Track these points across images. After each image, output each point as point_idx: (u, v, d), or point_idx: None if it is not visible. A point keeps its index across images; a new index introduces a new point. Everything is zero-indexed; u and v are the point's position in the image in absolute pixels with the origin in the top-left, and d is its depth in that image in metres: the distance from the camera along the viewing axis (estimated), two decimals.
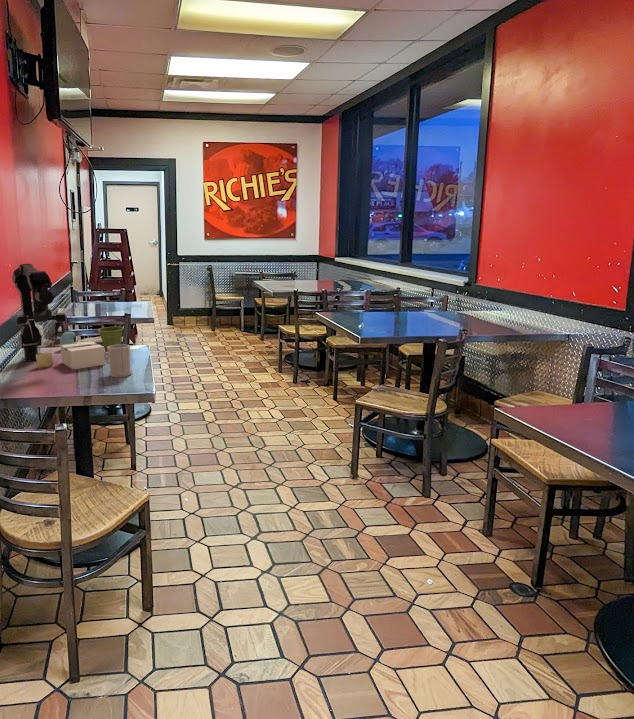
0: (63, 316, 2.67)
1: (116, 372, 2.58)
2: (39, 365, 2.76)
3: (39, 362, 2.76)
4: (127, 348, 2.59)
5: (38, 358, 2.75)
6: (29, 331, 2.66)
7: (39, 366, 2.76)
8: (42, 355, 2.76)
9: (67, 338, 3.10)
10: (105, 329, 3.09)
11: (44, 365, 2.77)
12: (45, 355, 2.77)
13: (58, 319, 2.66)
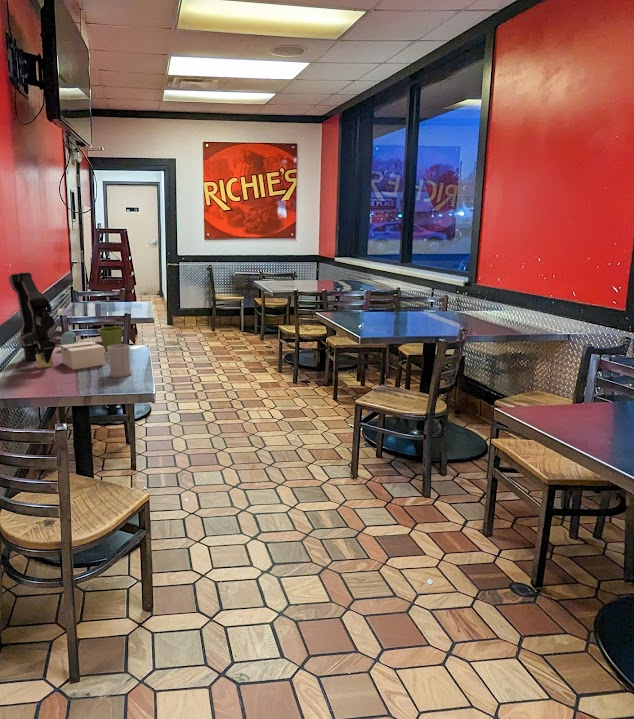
0: (40, 343, 2.67)
1: (116, 372, 2.58)
2: (39, 365, 2.76)
3: (39, 362, 2.76)
4: (127, 348, 2.59)
5: (38, 358, 2.75)
6: (37, 351, 2.80)
7: (39, 366, 2.76)
8: (42, 355, 2.76)
9: (67, 338, 3.10)
10: (105, 329, 3.09)
11: (44, 365, 2.77)
12: None
13: (38, 345, 2.69)
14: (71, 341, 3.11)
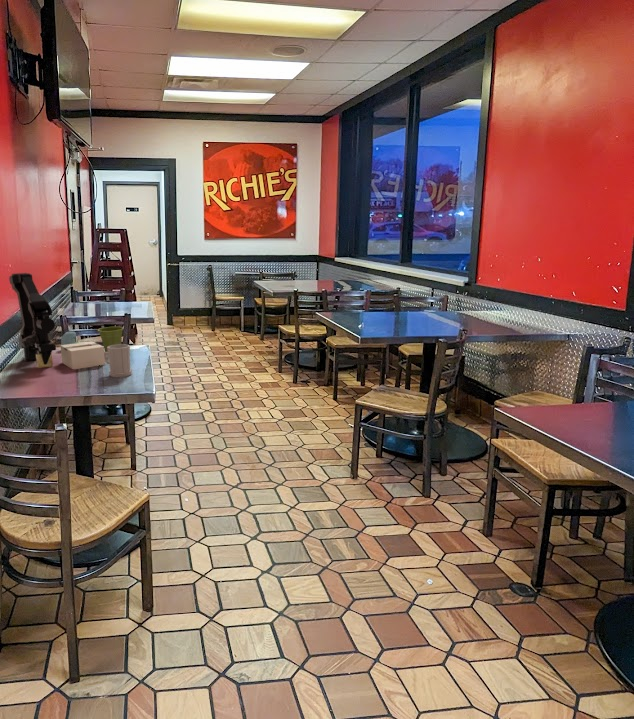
0: (40, 346, 2.68)
1: (116, 372, 2.58)
2: (39, 365, 2.76)
3: (39, 362, 2.76)
4: (127, 348, 2.59)
5: (38, 358, 2.75)
6: None
7: (39, 366, 2.76)
8: None
9: (68, 338, 3.10)
10: (105, 329, 3.09)
11: (44, 365, 2.77)
12: None
13: (39, 348, 2.69)
14: (72, 341, 3.11)
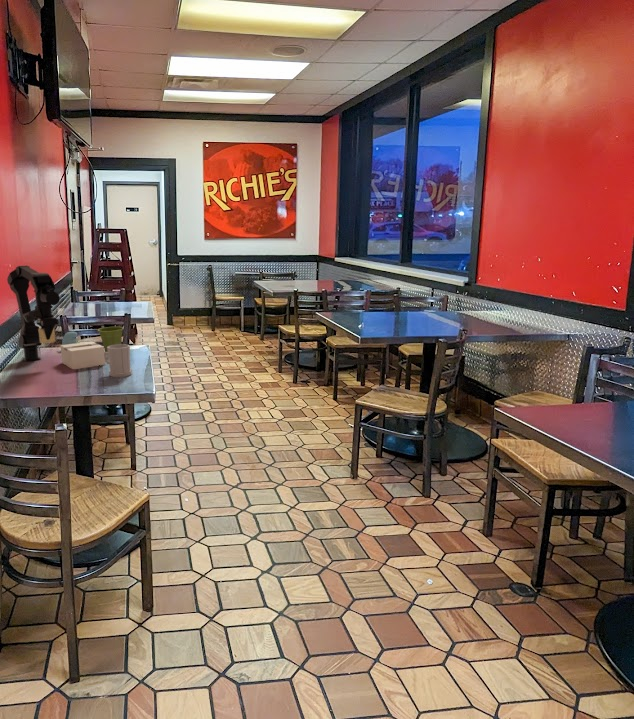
0: (43, 320, 2.66)
1: (116, 372, 2.58)
2: (41, 340, 2.74)
3: (41, 337, 2.74)
4: (127, 348, 2.59)
5: (40, 333, 2.73)
6: None
7: (41, 341, 2.74)
8: None
9: (70, 337, 3.10)
10: (105, 329, 3.09)
11: (47, 340, 2.75)
12: None
13: (41, 322, 2.67)
14: (73, 341, 3.11)
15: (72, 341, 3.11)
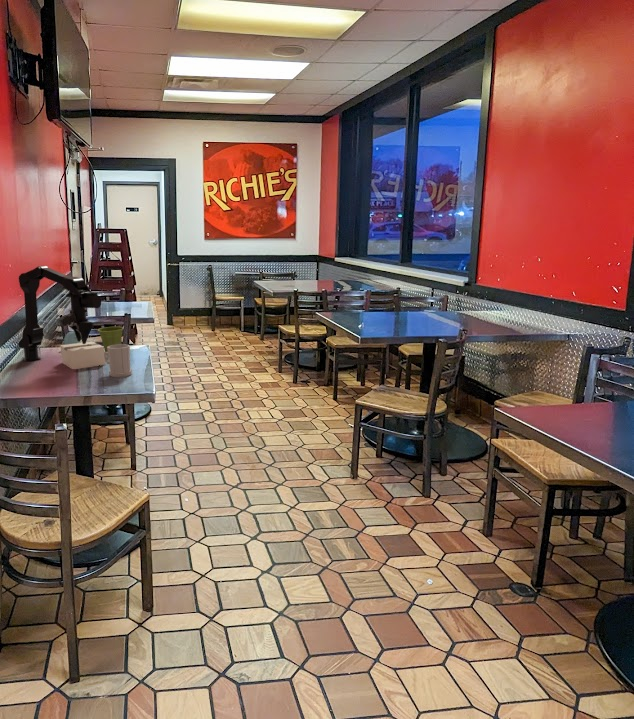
0: (79, 324, 2.71)
1: (116, 372, 2.58)
2: None
3: None
4: (127, 348, 2.59)
5: None
6: (75, 333, 2.83)
7: None
8: None
9: (71, 337, 3.11)
10: (105, 329, 3.09)
11: None
12: None
13: (77, 326, 2.72)
14: (75, 341, 3.11)
15: (74, 341, 3.11)
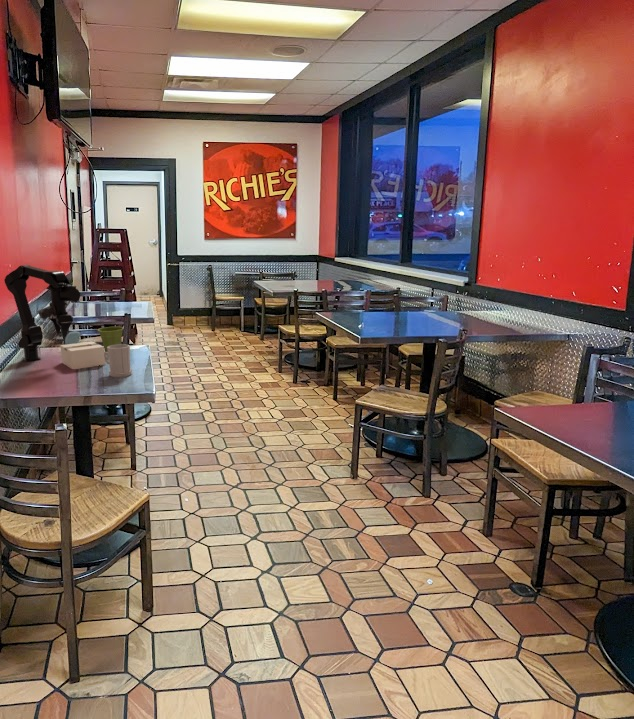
0: (58, 317, 2.71)
1: (116, 372, 2.58)
2: None
3: None
4: (127, 348, 2.59)
5: None
6: (54, 325, 2.84)
7: None
8: None
9: (72, 337, 3.11)
10: (105, 329, 3.09)
11: None
12: None
13: (56, 319, 2.73)
14: (76, 341, 3.12)
15: (75, 341, 3.11)
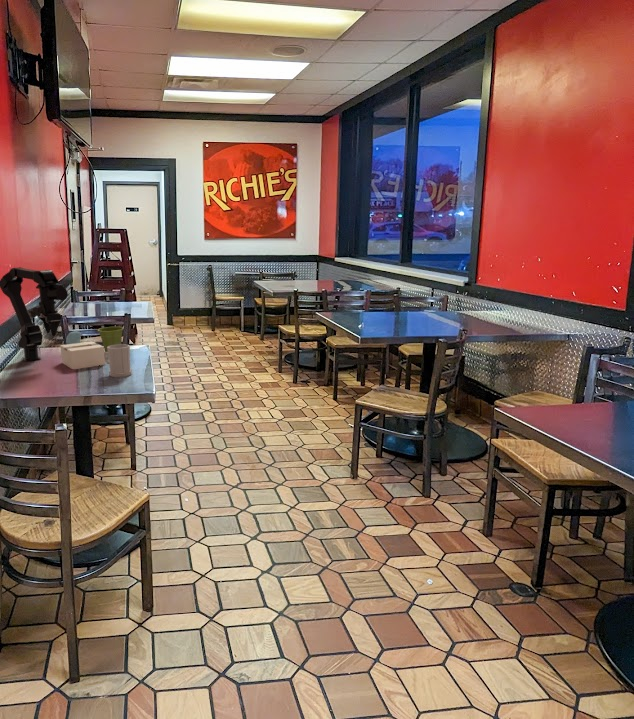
0: (47, 316, 2.72)
1: (116, 372, 2.58)
2: None
3: None
4: (127, 348, 2.59)
5: None
6: (44, 325, 2.85)
7: None
8: None
9: (73, 337, 3.11)
10: (105, 329, 3.09)
11: None
12: None
13: (45, 318, 2.74)
14: (77, 341, 3.12)
15: (76, 341, 3.11)
